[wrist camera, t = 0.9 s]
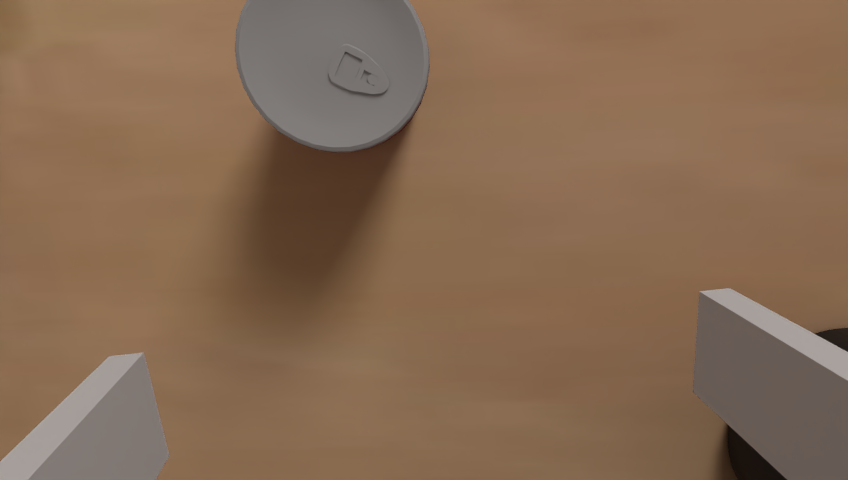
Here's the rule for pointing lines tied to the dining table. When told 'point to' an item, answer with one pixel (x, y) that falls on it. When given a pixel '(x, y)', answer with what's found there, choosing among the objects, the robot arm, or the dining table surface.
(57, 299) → the dining table surface
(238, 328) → the dining table surface
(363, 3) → the canned food
